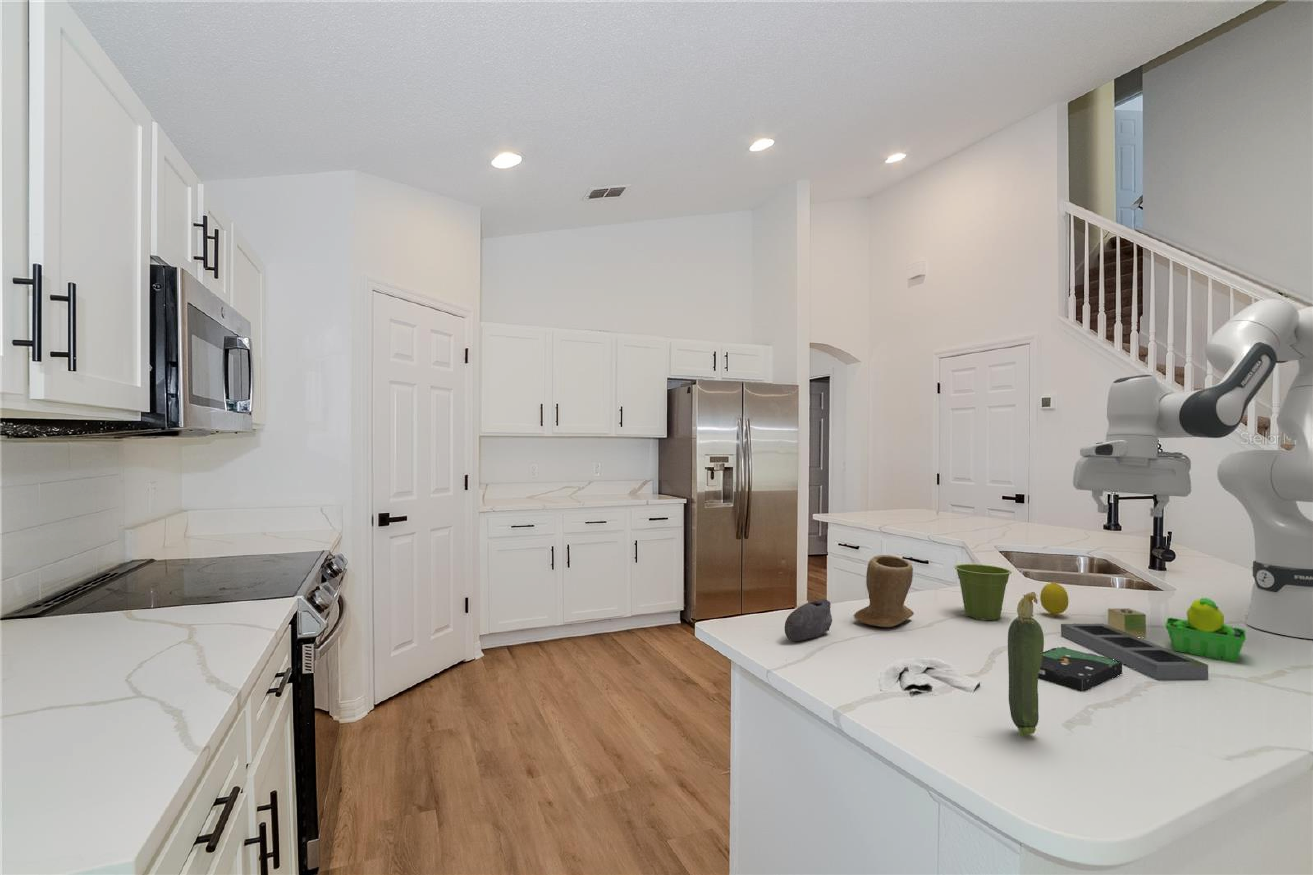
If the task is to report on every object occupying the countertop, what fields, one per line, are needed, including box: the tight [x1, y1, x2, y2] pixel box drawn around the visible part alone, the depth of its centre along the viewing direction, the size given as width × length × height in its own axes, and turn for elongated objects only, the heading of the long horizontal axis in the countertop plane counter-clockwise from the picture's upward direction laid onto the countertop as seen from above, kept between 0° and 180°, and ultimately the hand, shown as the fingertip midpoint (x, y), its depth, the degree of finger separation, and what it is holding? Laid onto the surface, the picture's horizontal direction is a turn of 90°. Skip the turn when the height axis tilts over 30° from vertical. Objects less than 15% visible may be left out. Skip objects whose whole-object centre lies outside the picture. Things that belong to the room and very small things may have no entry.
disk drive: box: [1038, 646, 1123, 692], centre depth 108 cm, size 10×3×15 cm
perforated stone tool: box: [784, 598, 833, 642], centre depth 128 cm, size 15×5×7 cm, turn 130°
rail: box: [1060, 623, 1209, 681], centre depth 117 cm, size 9×24×2 cm, turn 1°
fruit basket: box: [1164, 597, 1247, 663], centre depth 118 cm, size 11×9×11 cm
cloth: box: [878, 657, 981, 698], centre depth 104 cm, size 20×22×2 cm
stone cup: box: [853, 554, 915, 628], centre depth 138 cm, size 15×12×15 cm
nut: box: [1107, 608, 1147, 638], centre depth 130 cm, size 4×4×5 cm
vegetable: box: [1007, 591, 1045, 738], centre depth 85 cm, size 4×4×20 cm
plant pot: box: [954, 563, 1013, 621], centre depth 143 cm, size 12×12×11 cm
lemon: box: [1039, 581, 1069, 617], centre depth 143 cm, size 6×6×8 cm
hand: (1129, 514), depth 130 cm, fingers open, 8 cm apart
